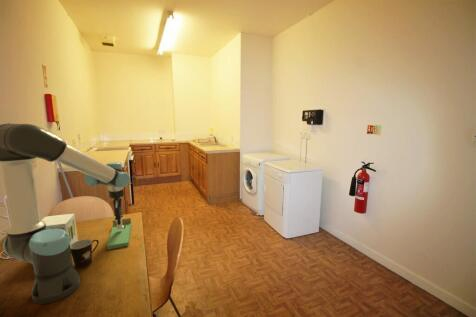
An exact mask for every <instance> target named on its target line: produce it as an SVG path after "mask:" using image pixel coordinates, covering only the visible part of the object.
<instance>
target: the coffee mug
mask: <svg viewBox="0 0 476 317" xmlns="http://www.w3.org/2000/svg"><path fill="white" fill-rule="evenodd" d="M94 242H97V243H96V244H95V247H94V248H93V243H94ZM98 246H99V240H97V239H94V240H92V239H89V238H86V239H80V240H79V239H78V241H76V242H74V243H72V244H71V245H70V249H71V256H72V262H73V263H74V268H75V269H76V268H77V269H82V268H86V267H88V266H89V265H91V264H92V262H93V261H92V258H93V256H92V255H93V252H95V250H96V249H97V247H98Z"/></svg>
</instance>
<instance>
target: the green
mask: <svg viewBox="0 0 476 317" xmlns="http://www.w3.org/2000/svg"><path fill="white" fill-rule="evenodd" d="M122 225H123V226H124V229H120V230H117V223H116V220H115V219H112V227H111V228H112V229H111V231H110V234H109V236H108V237H109V238H108V241H107V245H106V249H107V250H112V249H117V248H125V247H129V244H130V237H131V230H132V218H131V217H127V218H122Z"/></svg>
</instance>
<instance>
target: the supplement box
mask: <svg viewBox="0 0 476 317" xmlns="http://www.w3.org/2000/svg"><path fill="white" fill-rule="evenodd" d="M41 220H42V221H45V223H46V230H47V229H62V230H65V231H66V232H67V233H68V236H69V239H70V245H71V244H72V243H74V242H76V241H79V239H78V237H79V236H78V231H77V223H76V215H75V213H65V214H57V215H50V216H49V215H48V216H47V215H46V216H45V217H43V218H42V219H41Z"/></svg>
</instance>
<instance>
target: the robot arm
mask: <svg viewBox="0 0 476 317" xmlns="http://www.w3.org/2000/svg"><path fill="white" fill-rule="evenodd" d="M36 159H42V160H45V161H47V162H49V163H52V162H56V163H58V164H60V165H63V166H66V167H68V168H71V169H73V170H75V171H77V172H79V173H82V174H84V182H85V183H86V185H87V186H88V187H97V186H98V185H99V186H100V185H101V186H107V188H108V189H107V190H108V196H109V197H108V198H110V199H113V201H112V204H113V207H114V208H113V210H114V216H115V218H114V220H116V223H117V230H120V229H122V228H123V227H122V219H123V217H124V215H123V213H122V212H123V211H122V198H123V197H125V189H124V188H127V186H128V185H129V184H130V182H131V176H130V175H129V174H128V173H127V172H123V166H122V163H121V162H119V161H113V162H111V161H110V162H107V163H106V164H105V163H103V162H101V161H100V160H98V159H96V158H94V157H92V156H90V155H88V154H86V153H84V152H82V151H80V150H78V149H77V148H75V147H73V146H70V145H68V142H67V140H65V139H63V138H62V137H60V136H57V135H55V133H52V132H51V131H49V130H47V129H44V128H42V127H41V126H37V125H35V124H32V123H31V124H30V123H10V122H9V123H3V124H2V123H1V124H0V166H1V169H2V176H3V183H4V188H5V195H6V201H7V207H8V213H9V218H10V224H11V226H10V227H9V228H8V229H7V230H6V237H5V238H4V239H3V240H4V241H3V243H2V247H3V250H4V252H5V254H7V255H8V256H9V257H11V258H12V259H16V260H19V261H23V262H25V263H28V264H31V265H32V267H33V273H34V281H33V286H32V289H31V298H32V301H33V302H34V303H35V304H39V305H40V304H41V305H42V304H43V305H45V304H50V303H54V302H58V301H60V300H62V299H64V298H66V297H68V296H70V295H71V294H72V293H74V292H75V291H76V290H77V289H78V288H79V286H80V285H81V278H80V277H81V276H80V275H79V273H78V271H77V269H76V267H75V266H74V265H73V257H72V254H71V249H70V239H69V236H68V233H67V232H66V231H65V230H62V229H47V230H46V223H45V221H42V219H41V217H40V209H39V203H38V195H37V187H36V181H35V174H34V168H33V162H34V161H35V160H36Z"/></svg>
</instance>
